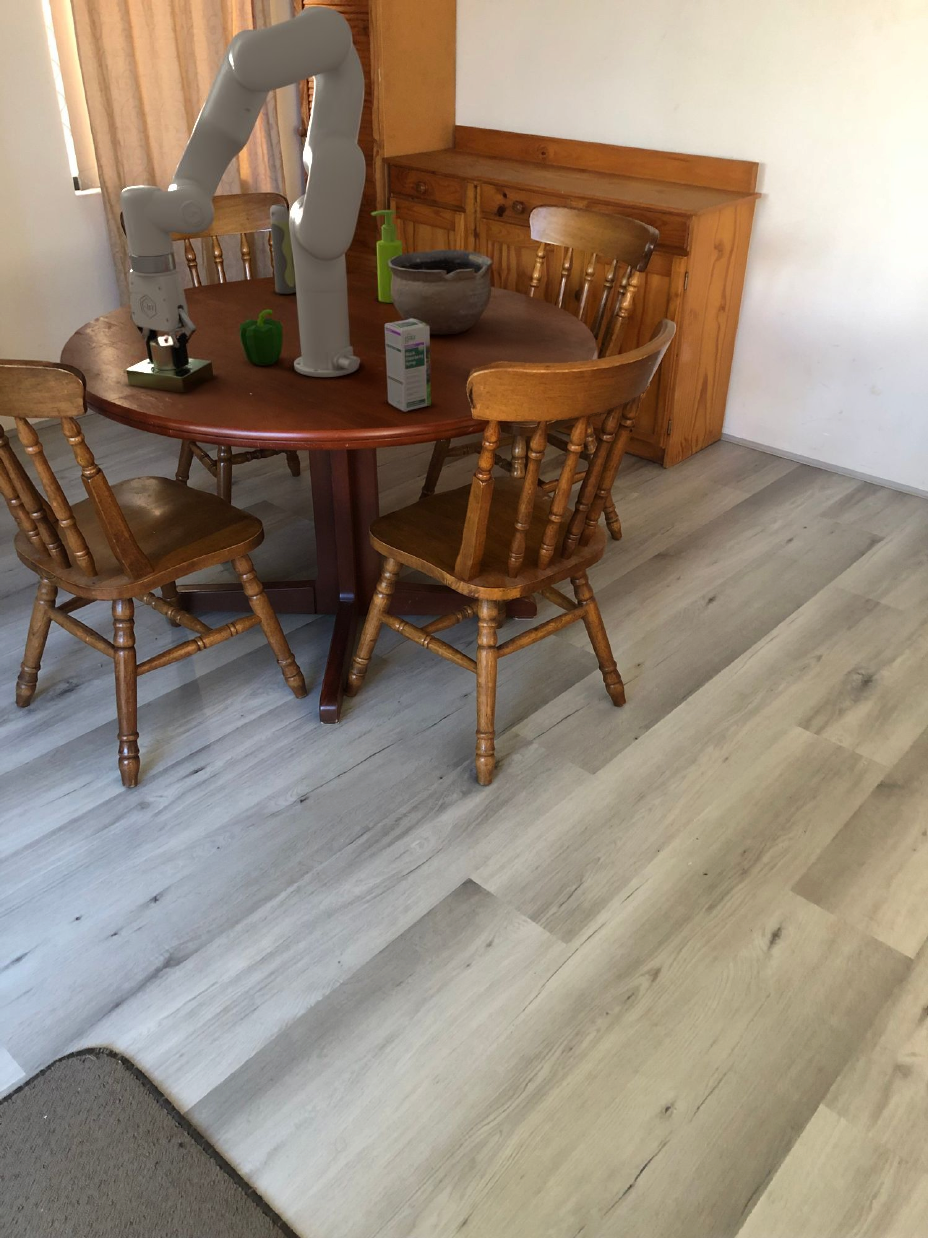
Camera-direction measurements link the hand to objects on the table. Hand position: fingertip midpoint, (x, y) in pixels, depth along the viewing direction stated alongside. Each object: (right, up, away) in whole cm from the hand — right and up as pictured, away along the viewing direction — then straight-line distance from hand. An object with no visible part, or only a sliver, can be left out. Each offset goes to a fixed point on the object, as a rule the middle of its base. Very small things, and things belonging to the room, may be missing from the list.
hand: (169, 362), depth 181 cm
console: (0, -3, +2) cm, 4 cm away
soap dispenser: (+37, +29, +52) cm, 70 cm away
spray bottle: (+12, +32, +56) cm, 66 cm away
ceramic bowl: (+50, +15, +32) cm, 61 cm away
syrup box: (+45, -10, -7) cm, 47 cm away
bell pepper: (+15, +3, +12) cm, 20 cm away
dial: (0, 0, 0) cm, 0 cm away
